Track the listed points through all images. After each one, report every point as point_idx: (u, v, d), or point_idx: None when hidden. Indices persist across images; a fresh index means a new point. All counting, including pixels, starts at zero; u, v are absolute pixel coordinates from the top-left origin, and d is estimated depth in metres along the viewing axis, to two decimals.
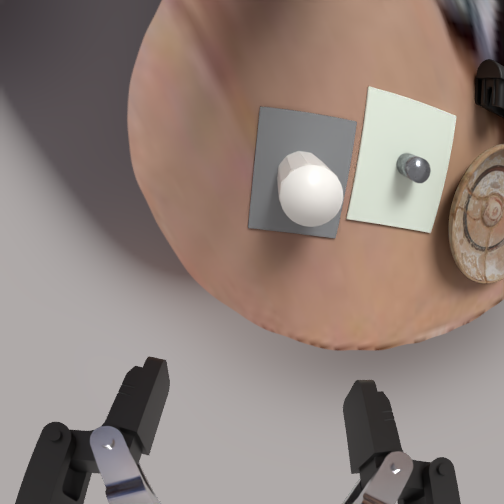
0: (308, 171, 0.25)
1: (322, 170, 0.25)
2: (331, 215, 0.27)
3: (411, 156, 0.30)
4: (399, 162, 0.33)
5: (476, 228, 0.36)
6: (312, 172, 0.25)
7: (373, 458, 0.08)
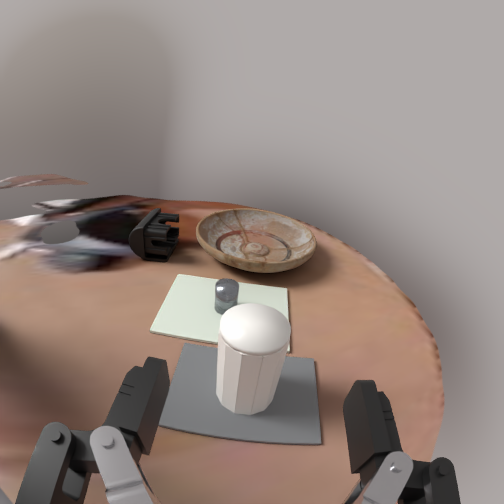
0: (226, 327, 0.24)
1: (225, 316, 0.25)
2: (274, 311, 0.26)
3: (215, 295, 0.39)
4: (223, 310, 0.39)
5: (273, 257, 0.55)
6: (228, 324, 0.24)
7: (373, 458, 0.08)
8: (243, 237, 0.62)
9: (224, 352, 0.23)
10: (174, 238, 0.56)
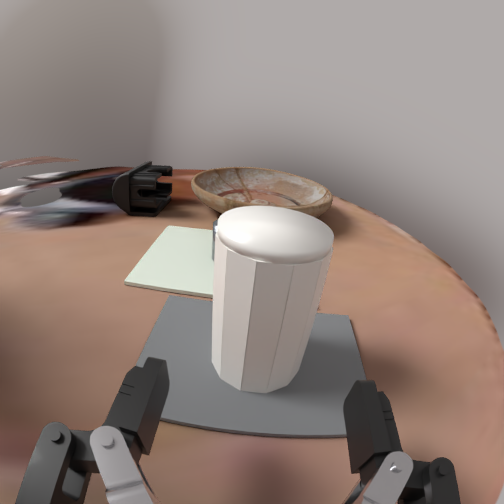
0: (229, 224, 0.14)
1: (227, 215, 0.16)
2: (302, 214, 0.17)
3: (213, 237, 0.30)
4: None
5: None
6: (231, 222, 0.15)
7: (373, 458, 0.08)
8: (246, 196, 0.53)
9: (224, 268, 0.14)
10: (166, 193, 0.47)
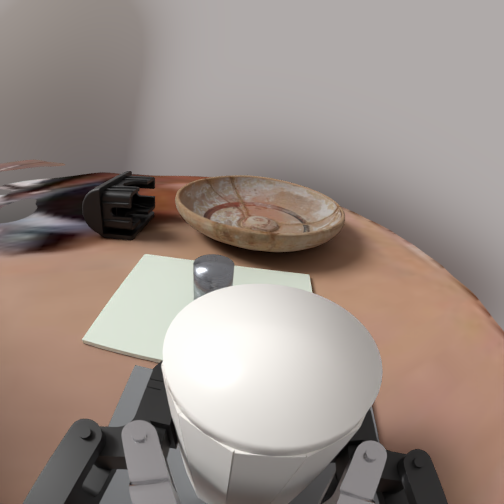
0: (184, 352, 0.07)
1: (184, 319, 0.08)
2: (323, 302, 0.09)
3: (194, 282, 0.23)
4: None
5: None
6: (188, 342, 0.07)
7: (346, 447, 0.08)
8: (242, 210, 0.45)
9: (180, 427, 0.07)
10: (147, 210, 0.40)
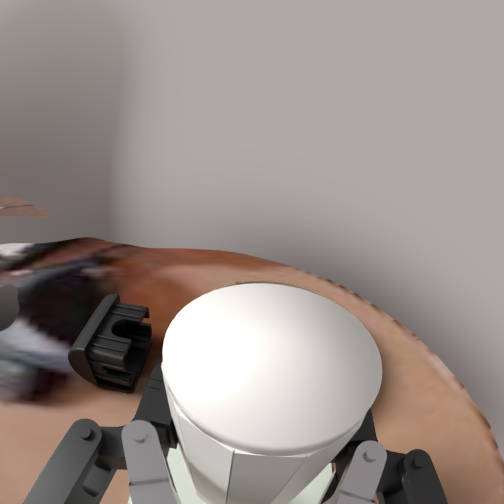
0: (184, 352, 0.07)
1: (184, 318, 0.08)
2: (323, 302, 0.09)
3: None
4: None
5: None
6: (188, 342, 0.07)
7: (347, 447, 0.08)
8: None
9: (180, 427, 0.07)
10: (144, 344, 0.32)
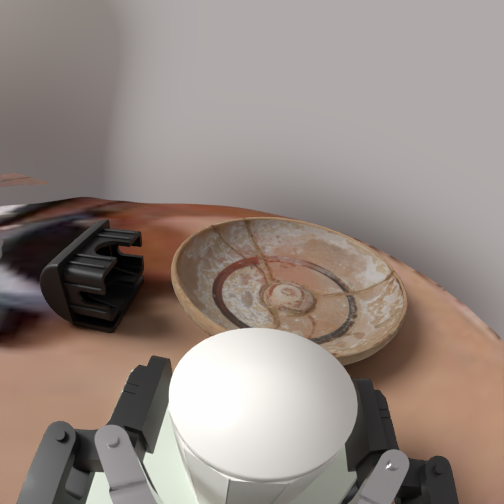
0: (187, 398, 0.08)
1: (186, 366, 0.09)
2: (309, 346, 0.10)
3: None
4: None
5: (326, 316, 0.27)
6: (190, 388, 0.08)
7: (369, 456, 0.08)
8: (264, 271, 0.34)
9: (185, 456, 0.07)
10: (133, 278, 0.28)
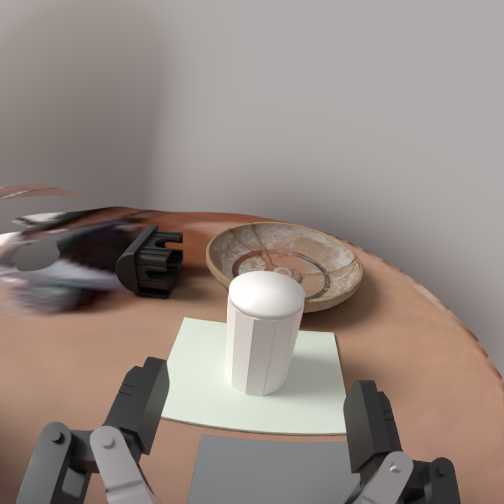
0: (236, 292, 0.22)
1: (234, 282, 0.23)
2: (286, 277, 0.25)
3: None
4: None
5: (308, 287, 0.42)
6: (237, 289, 0.23)
7: (373, 458, 0.08)
8: (266, 260, 0.48)
9: (234, 320, 0.22)
10: (177, 264, 0.43)
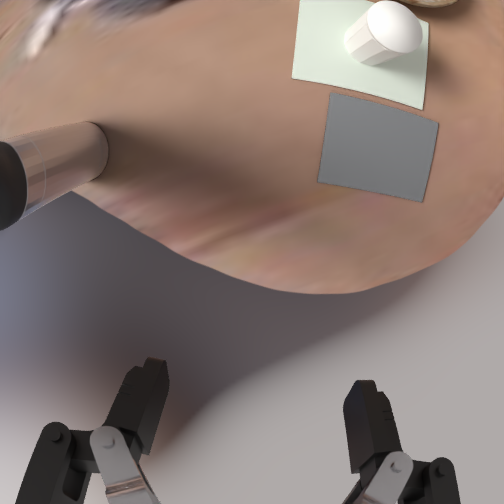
0: (374, 24, 0.19)
1: (371, 13, 0.18)
2: (410, 13, 0.17)
3: None
4: None
5: None
6: (374, 21, 0.19)
7: (373, 458, 0.08)
8: None
9: (368, 39, 0.21)
10: None
